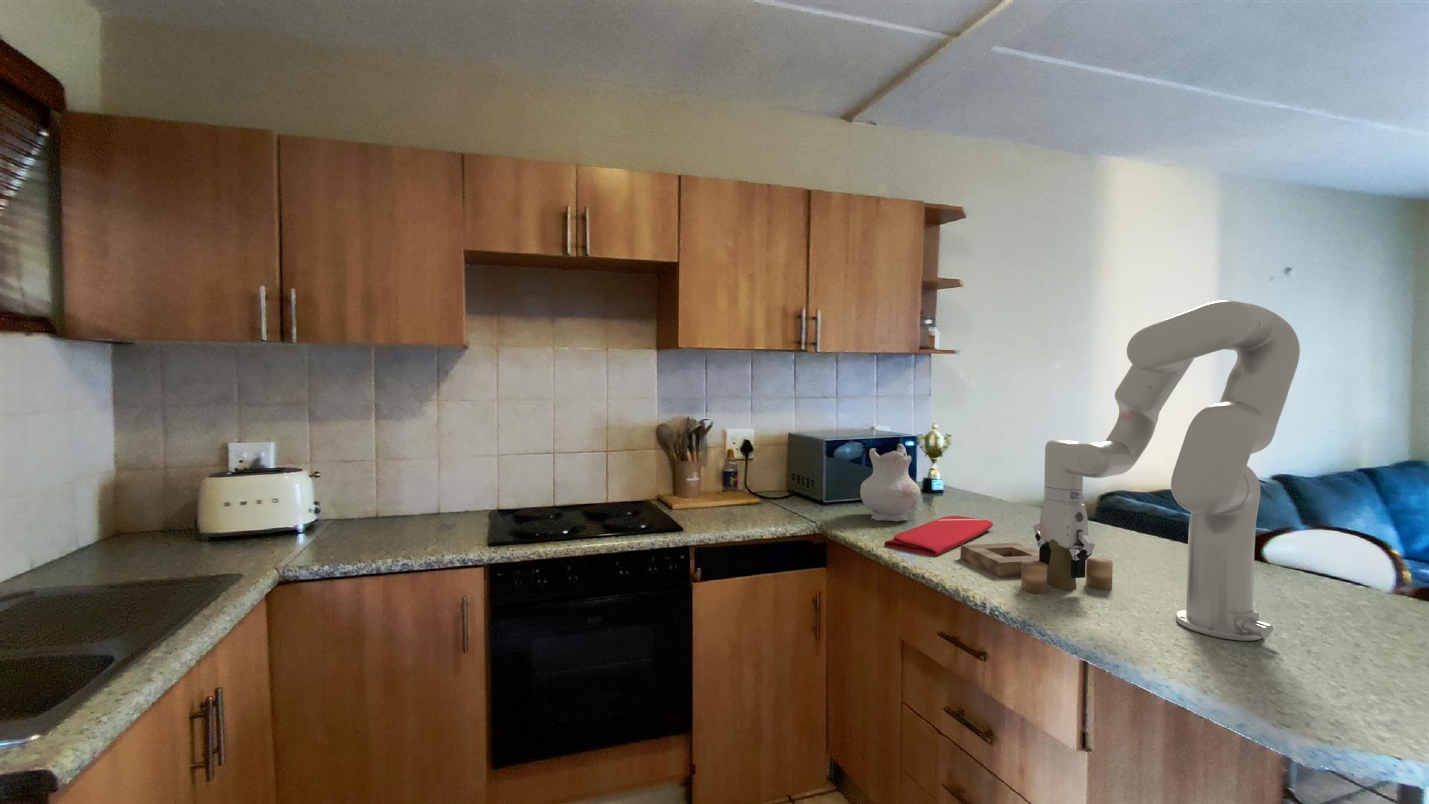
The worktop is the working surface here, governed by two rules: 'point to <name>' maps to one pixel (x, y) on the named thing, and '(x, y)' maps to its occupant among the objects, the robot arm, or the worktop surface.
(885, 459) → the ceramic pitcher
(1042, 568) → the short dowel
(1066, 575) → the cork
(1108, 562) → the short dowel
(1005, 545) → the socket block
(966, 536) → the red folded cloth
